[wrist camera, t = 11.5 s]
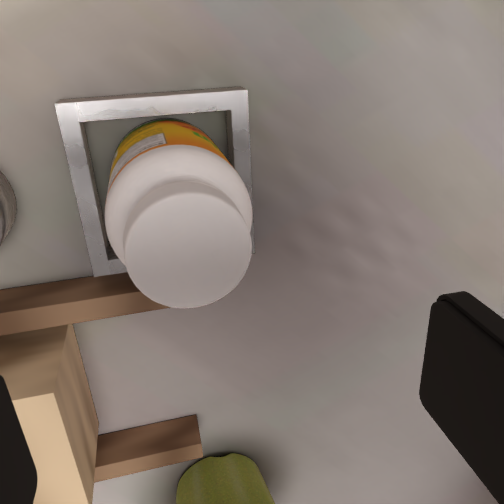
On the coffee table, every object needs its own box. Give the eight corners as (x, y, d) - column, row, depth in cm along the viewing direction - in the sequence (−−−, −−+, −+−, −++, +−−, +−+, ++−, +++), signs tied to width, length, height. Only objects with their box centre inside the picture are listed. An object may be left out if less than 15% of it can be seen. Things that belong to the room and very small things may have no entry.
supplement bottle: (240, 183, 23) (304, 266, 15) (157, 241, 24) (172, 355, 15) (180, 93, 21) (214, 130, 12) (87, 159, 21) (57, 241, 13)
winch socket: (240, 86, 21) (268, 98, 17) (248, 241, 25) (273, 285, 21) (-145, 114, 18) (-232, 138, 14) (-72, 287, 22) (-123, 350, 17)
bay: (176, 264, 24) (188, 325, 19) (197, 427, 30) (212, 510, 25) (-189, 317, 21) (-295, 409, 16) (-90, 490, 27) (-144, 602, 21)
